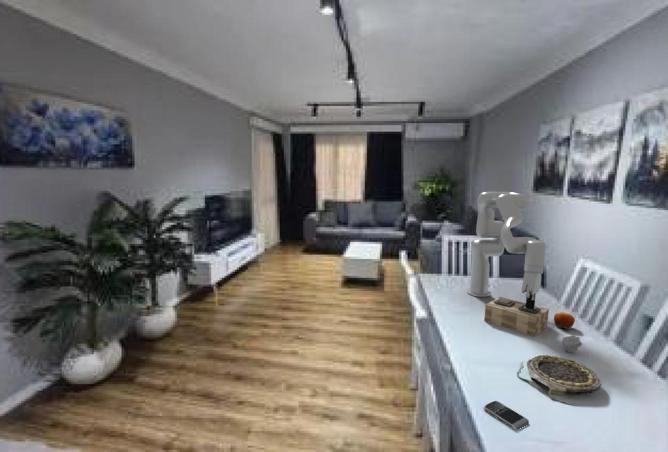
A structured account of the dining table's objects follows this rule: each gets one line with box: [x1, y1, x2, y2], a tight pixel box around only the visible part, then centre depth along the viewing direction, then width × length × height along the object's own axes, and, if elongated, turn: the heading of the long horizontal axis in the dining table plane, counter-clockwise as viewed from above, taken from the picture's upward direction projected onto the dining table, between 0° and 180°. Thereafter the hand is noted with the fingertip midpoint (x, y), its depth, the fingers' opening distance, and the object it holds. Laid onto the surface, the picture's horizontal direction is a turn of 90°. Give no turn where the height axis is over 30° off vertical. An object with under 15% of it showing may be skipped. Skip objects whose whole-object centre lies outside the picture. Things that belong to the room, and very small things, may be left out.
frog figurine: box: [561, 335, 583, 354], centre depth 143 cm, size 6×7×7 cm
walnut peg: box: [499, 299, 511, 304], centre depth 174 cm, size 4×4×9 cm
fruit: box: [553, 311, 576, 331], centre depth 166 cm, size 8×8×8 cm
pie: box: [516, 354, 602, 404], centre depth 123 cm, size 28×27×5 cm
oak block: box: [483, 296, 549, 337], centre depth 170 cm, size 16×22×9 cm
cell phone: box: [483, 400, 530, 431], centre depth 105 cm, size 6×11×1 cm, turn 31°
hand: (529, 307), depth 165 cm, fingers closed
